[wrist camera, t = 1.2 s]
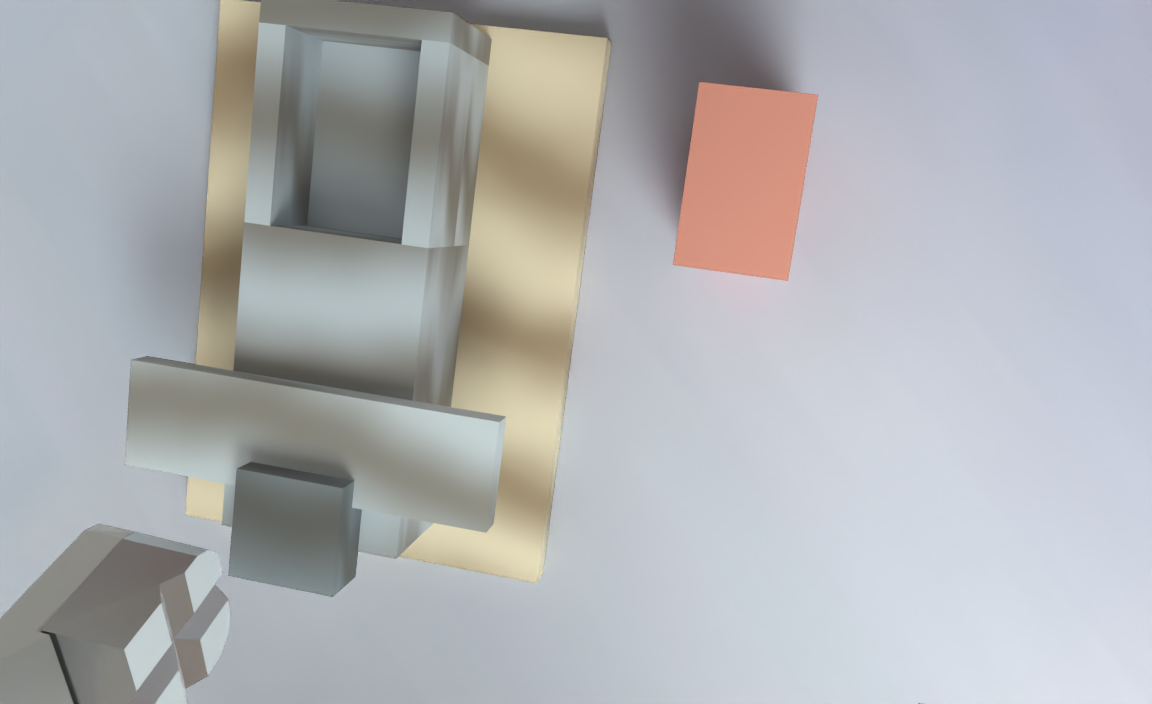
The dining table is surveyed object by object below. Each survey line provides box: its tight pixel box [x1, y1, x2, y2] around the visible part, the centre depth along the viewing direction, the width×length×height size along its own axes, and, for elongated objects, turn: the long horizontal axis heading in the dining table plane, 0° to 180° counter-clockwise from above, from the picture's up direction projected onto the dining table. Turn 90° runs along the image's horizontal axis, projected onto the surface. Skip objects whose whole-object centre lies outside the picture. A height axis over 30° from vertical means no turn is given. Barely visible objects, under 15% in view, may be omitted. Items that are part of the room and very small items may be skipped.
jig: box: [125, 0, 611, 597], centre depth 37 cm, size 22×16×8 cm
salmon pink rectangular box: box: [673, 82, 818, 281], centre depth 33 cm, size 6×4×9 cm, turn 173°
